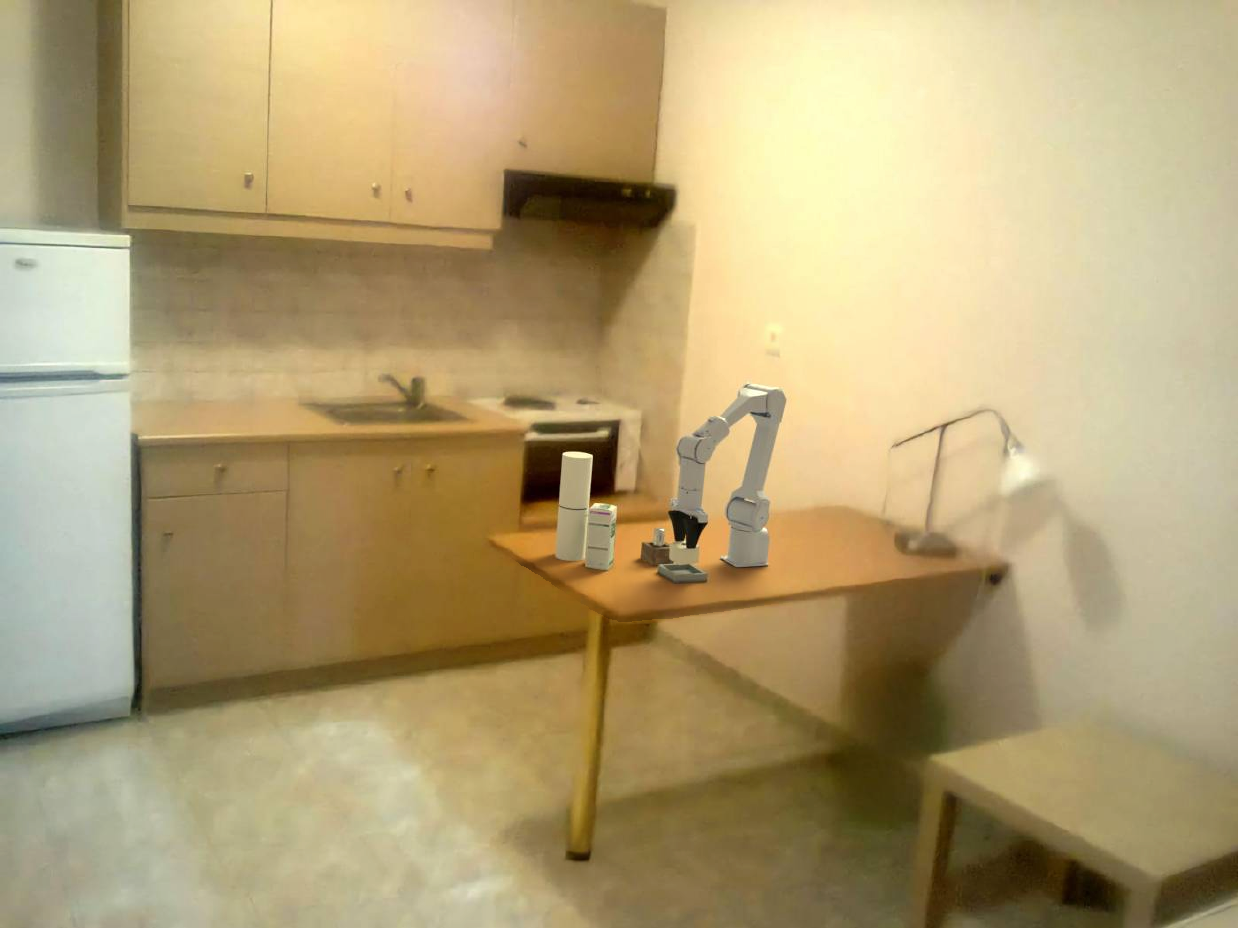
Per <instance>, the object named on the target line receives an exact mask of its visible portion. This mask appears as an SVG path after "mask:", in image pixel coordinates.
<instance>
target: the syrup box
mask: <svg viewBox="0 0 1238 928" xmlns="http://www.w3.org/2000/svg"><path fill="white" fill-rule="evenodd" d="M617 511H618V506H617V505H615V504H611V503H610V504H609V503H604V502H603V503H600V502H599V503H598V502H597V503H596V502H594V503H593V504H592V505H591V506H589V510H588V523H587V536H586V549H585V558H584V567H585V568H588V569H594V570H601V571H609V569H611V567H612V566H613V564H614V556H615V545H616V544H615V543H616V531H617V530H616V529H617V513H618V512H617Z"/></svg>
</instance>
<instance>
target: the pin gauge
mask: <svg viewBox="0 0 1238 928" xmlns="http://www.w3.org/2000/svg"><path fill="white" fill-rule="evenodd" d="M665 534H666V529H665V528H663V527H655V528H654V530H653V540H652V542H653V547H654V548H661V547H664V541H665Z"/></svg>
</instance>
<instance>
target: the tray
mask: <svg viewBox="0 0 1238 928" xmlns="http://www.w3.org/2000/svg"><path fill="white" fill-rule="evenodd" d="M657 573H658V574H660V575H662V576H663V577H664V578H666V579H668V580H669V581H670V582H672V583H673V584H684V583H685V584H686V583H697V582H700V583H701V582H708V573H707V572H705V570H703V569H701V568H699V567H698V566H696V565H695V564H694V563H693V564H686V565H678V564H677V563H674V564H660V565H657Z"/></svg>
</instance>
